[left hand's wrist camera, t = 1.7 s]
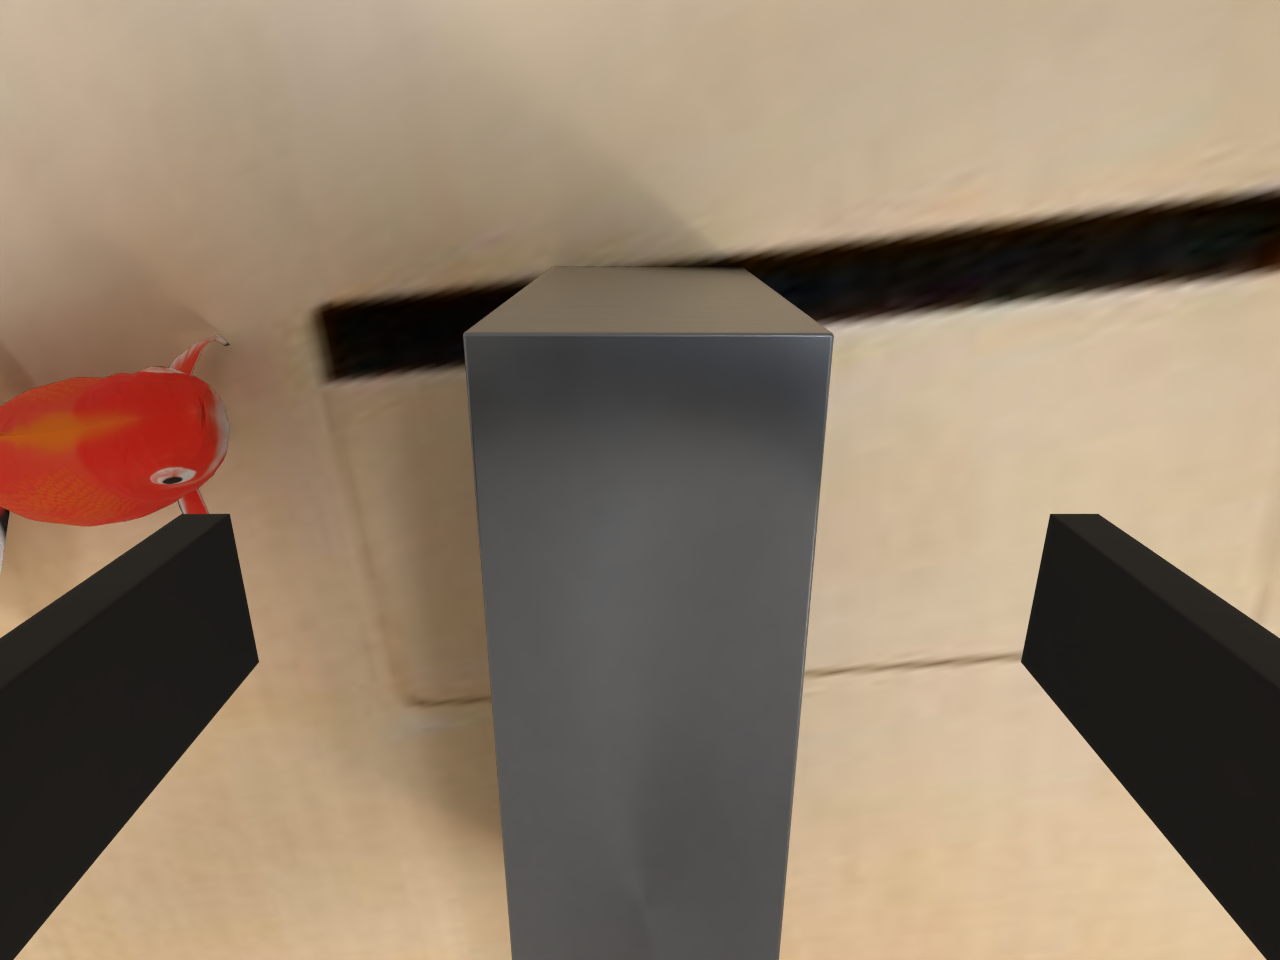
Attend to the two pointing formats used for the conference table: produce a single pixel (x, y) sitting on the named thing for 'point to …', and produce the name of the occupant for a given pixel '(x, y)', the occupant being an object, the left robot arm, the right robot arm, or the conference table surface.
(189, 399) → the fish
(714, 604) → the box
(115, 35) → the conference table surface
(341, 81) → the conference table surface
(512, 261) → the conference table surface
